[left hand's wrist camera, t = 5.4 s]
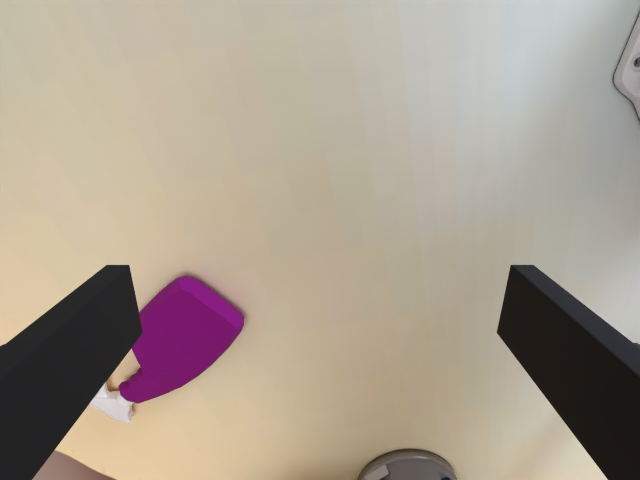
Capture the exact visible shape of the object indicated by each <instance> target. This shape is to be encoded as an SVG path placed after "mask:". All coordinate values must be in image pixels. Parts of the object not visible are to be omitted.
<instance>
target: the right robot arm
mask: <svg viewBox="0 0 640 480" xmlns="http://www.w3.org/2000/svg"><path fill="white" fill-rule="evenodd" d="M636 59H637V64H636V66H634V61H635V60H636ZM614 84H615V86H616V87H617V89H618V90H619V91H620V92H621V93H622V94H624V95H625V96H626V97H627V98H629V99H630V100H631V101H632V102H633V104H634V106H635V108H636V111H637V114H638V116H639V119H640V14H639V17H638V19H637V21H636V24H635V26H634V29H633V31H632V33H631V36H630V38H629V41H628V43H627V45H626V48H625V50H624V53H623V55H622V57H621V60H620V62H619V65H618V67H617V69H616V72H615V75H614Z"/></svg>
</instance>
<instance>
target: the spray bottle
mask: <svg viewBox="0 0 640 480" xmlns="http://www.w3.org/2000/svg"><path fill="white" fill-rule="evenodd" d="M139 315H140V320H141V325H142V330H143V333H142V335H141V336H140V337H139V339H138V340H137V341H136V343H135V344H134V345H133V347H132V350H133V352H134V354H135V357H136V359H137V361H138V363H139V364H140V366H141V368H139V370H138V371H137V373H136V374H134V375H132V376H131V377H130V380H129V381H125V382H122V383H121V384H120V385H119V391H111V392H109V391H108V390H107V383H106V382H105V384H104V385H103V386H102V388H101V389H100V390H99V392H98V393H97V394H96V395H95V397H94V398H93V399H92V401H91V402H90V403H89V405H91V406H92V407H94V408H96V409H97V410H99V411H101V412H103V413H104V414H106V415H108V416H110V417H111V418H113V419H115V420H118V421H122V422H126V423H130V421H131V419H132V418H133V416H134V414H133V412H132V405H133V403H134V402H135V403H141V402H144V401H147V400H150V399H153V398H156V397H158V396H161V395H163V394H166V393H168V392H170V391H173V390H175V389H177V388H180V387H182V386H183V385H185V384H186V383H188V382H189V381H191V380H193V379H194V378H196V377H197V376H199V375H200V374H201V373H202V372H204V371H205V370H206V369H207V368H208V367H210V366H211V365H212V364H213V363H214V362H215V361H216V360H217V359H218V358H219V357H220V356H221V355H222V354H223V353H224V352H225V351H226V350H227V349H228V348H229V346H230V345H231V344H232V342H233V341H234V340H235V339H236V337H237V336H238V335H239V333H240V332H241V330H242V328H243V325H244V316H243V315H242V314H241V313H240V312H239V311H238V310H237V309H235V308H234V307H233V306H231V305H230V304H229V303H228V302H226V301H225V300H224V299H222V298H221V297H220V296H219V295H217V294H216V293H215V292H213V291H212V290H211V289H210V288H208V287H207V286H205V285H204V284H203V283H201V282H200V281H198V280H197V279H195V278H191V277H188V276H184V277H180V278H178V279H175V280H174V281H173V282H171V283H170V284H169V285H168V286H166V287H165V288H164V289H162V290H161V291H160V292H159V293H158V294H157V295H156V296H155V297H154V298H153V299H152V300H151V301H150V302H149V303H148V304H147V305H146V306H145V307H144V308H143V309H142V310H141V311H140V312H139Z"/></svg>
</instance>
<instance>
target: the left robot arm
mask: <svg viewBox="0 0 640 480" xmlns="http://www.w3.org/2000/svg"><path fill="white" fill-rule="evenodd" d="M142 333H143V330H142V325H141V320H140V315H139V310H138V306H137V301H136V296H135V291H134V286H133V282H132V277H131V272H130V267H129V265H106V266H105V267H104V268H102V269H101V270H100V271H99V272H97V273H96V274H95V275H93V276H92V277H91V278H90V279H88V280H87V281H86V282H84V283H83V284H82V285H81V286H79V287H78V288H77V289H76V290H74V291H73V292H72V293H70V294H69V295H68V296H67V297H65V298H64V299H63V300H61V301H60V302H59V303H58V304H56V305H55V306H54V307H52V308H51V309H50V310H49V311H47V312H46V313H45V314H44V315H42V316H41V317H40V318H38V319H37V320H36V321H35V322H33V323H32V324H31V325H29V326H28V327H27V328H26V329H24V330H23V331H22V332H20V333H19V334H18V335H17V336H15V337H14V338H13V339H12V340H10V341H9V342H8V343H6V344H4V345H2V346H0V480H32V479H33V478H34V476H35V475H36V473H37V472H38V471H39V470H40V468H41V467H42V466H43V464H44V463H45V462H46V460H47V459H48V458H49V456H50V455H51V454H52V452H53V451H54V450H55V448H56V447H57V446H58V444H59V443H60V442H61V440H62V439H63V438H64V436H65V435H66V434H67V433H68V431H69V430H70V429H71V427H72V426H73V425H74V423H75V422H76V421H77V419H78V418H79V417H80V415H81V414H82V413H83V411H84V410H85V409H86V407H87V406H88V405H89V403H90V402H91V401H92V399H93V398H94V397H95V395H96V394H97V393H98V392H99V390H100V389H101V388H102V386H103V385H104V384H105V382H106V381H107V380H108V378H109V377H110V376H111V374H112V373H113V372H114V370H115V369H116V368H117V366H118V365H119V364H120V362H121V361H122V360H123V358H124V357H125V356H126V354H127V353H128V352H129V350H130V349H131V348H132V347H133V345H134V344H135V343H136V341H137V340H138V339H139V337H140V336H141V335H142ZM497 333H498V335H499V336H500V337H501V339H502V340H503V341H504V343H505V344H506V345H507V347H508V348H509V349H510V350H511V352H512V353H513V354H514V356H515V357H516V358H517V360H518V361H519V362H520V364H521V365H522V366H523V368H524V369H525V370H526V372H527V373H528V374H529V376H530V377H531V378H532V380H533V381H534V382H535V384H536V385H537V386H538V388H539V389H540V390H541V392H542V393H543V394H544V395H545V397H546V398H547V399H548V401H549V402H550V403H551V405H552V406H553V407H554V409H555V410H556V411H557V413H558V414H559V415H560V417H561V418H562V419H563V421H564V422H565V423H566V425H567V426H568V427H569V429H570V430H571V431H572V433H573V434H574V435H575V436H576V438H577V439H578V440H579V442H580V443H581V444H582V446H583V447H584V448H585V450H586V451H587V452H588V454H589V455H590V456H591V458H592V459H593V460H594V462H595V463H596V464H597V466H598V467H599V468H600V470H601V471H602V472H603V474H604V475H605V476H606V478H607V479H608V480H640V345H639V344H637V343H632V342H631V341H630V340H628V339H627V338H626V337H625V336H623V335H622V334H621V333H620V332H618V331H617V330H616V329H614V328H613V327H612V326H611V325H609V324H608V323H607V322H605V321H604V320H603V319H602V318H600V317H599V316H598V315H596V314H595V313H594V312H593V311H591V310H590V309H589V308H588V307H586V306H585V305H584V304H582V303H581V302H580V301H579V300H577V299H576V298H575V297H573V296H572V295H571V294H570V293H568V292H567V291H566V290H564V289H563V288H562V287H561V286H559V285H558V284H557V283H556V282H554V281H553V280H552V279H550V278H549V277H548V276H547V275H545V274H544V273H543V272H541V271H540V270H539V269H538V268H536V267H535V266H534V265H511V267H510V272H509V277H508V282H507V286H506V291H505V296H504V301H503V306H502V310H501V315H500V320H499V325H498V330H497ZM358 480H457V478H456V475H455V473H454V471H453V469H452V467H451V466H450V465H449V463H447V462H446V461H445V460H444V459H442V458H441V457H439V456H437V455H435V454H432V453H429V452H425V451H419V450H402V451H396V452H392V453H388V454H386V455H383V456H381V457H379V458H377V459H375V460H374V461H372V462H371V463H370V464H369V465H367V466H366V467H365V469H364V470H363V471H362V472H361V474H360V476H359V478H358Z"/></svg>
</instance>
